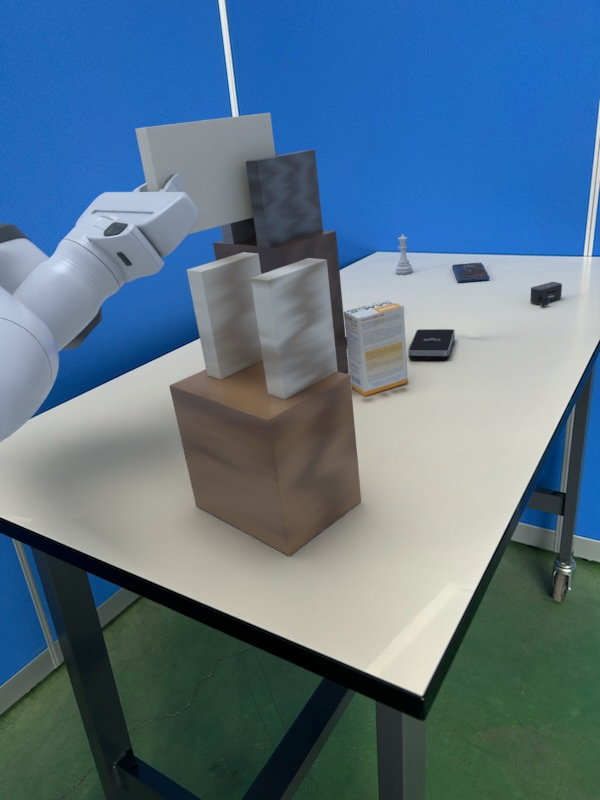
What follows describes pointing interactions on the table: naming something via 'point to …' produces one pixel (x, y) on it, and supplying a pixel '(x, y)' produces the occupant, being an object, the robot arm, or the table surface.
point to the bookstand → (288, 227)
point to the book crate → (268, 402)
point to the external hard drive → (431, 344)
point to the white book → (208, 163)
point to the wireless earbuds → (546, 293)
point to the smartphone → (470, 272)
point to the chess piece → (403, 259)
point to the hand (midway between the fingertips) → (171, 178)
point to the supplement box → (376, 346)
